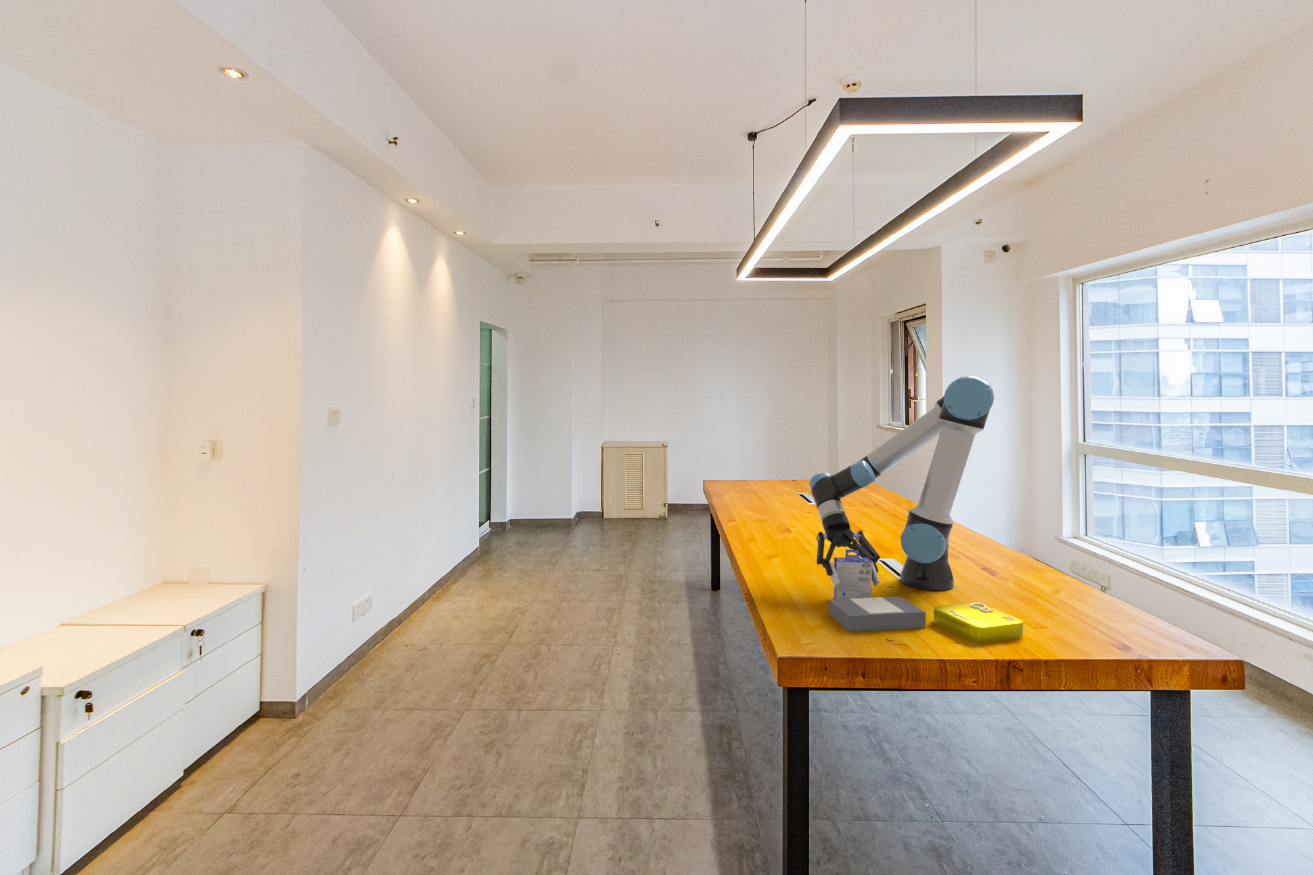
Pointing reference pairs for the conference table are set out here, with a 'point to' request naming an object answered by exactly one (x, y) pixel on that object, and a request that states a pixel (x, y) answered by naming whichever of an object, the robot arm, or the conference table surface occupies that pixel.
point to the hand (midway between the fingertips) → (857, 584)
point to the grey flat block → (876, 614)
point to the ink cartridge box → (853, 576)
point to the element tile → (978, 622)
